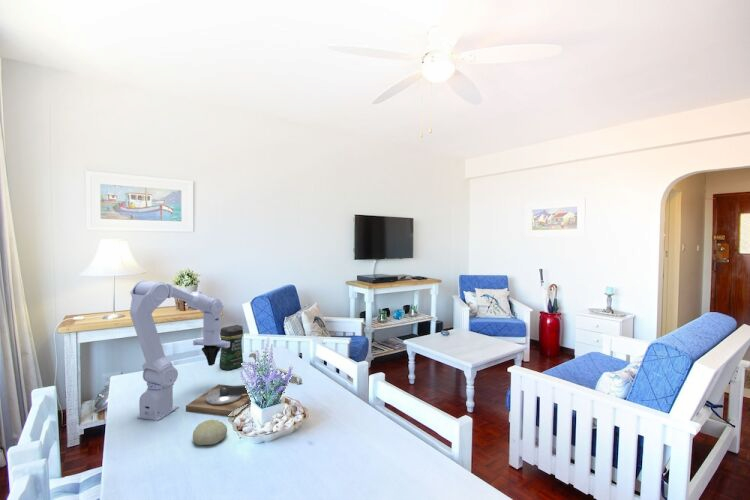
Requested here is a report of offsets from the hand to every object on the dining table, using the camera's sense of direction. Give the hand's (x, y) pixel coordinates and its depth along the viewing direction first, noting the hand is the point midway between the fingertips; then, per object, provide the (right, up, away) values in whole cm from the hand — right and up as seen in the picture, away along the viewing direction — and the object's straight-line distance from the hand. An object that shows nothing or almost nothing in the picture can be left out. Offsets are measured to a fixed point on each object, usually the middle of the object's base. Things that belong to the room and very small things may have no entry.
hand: (211, 364), depth 140 cm
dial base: (+10, -10, -12) cm, 18 cm away
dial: (+11, -8, -12) cm, 18 cm away
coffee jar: (-2, -9, +24) cm, 26 cm away
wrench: (+20, -10, +14) cm, 26 cm away
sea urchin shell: (+15, -11, -34) cm, 39 cm away
